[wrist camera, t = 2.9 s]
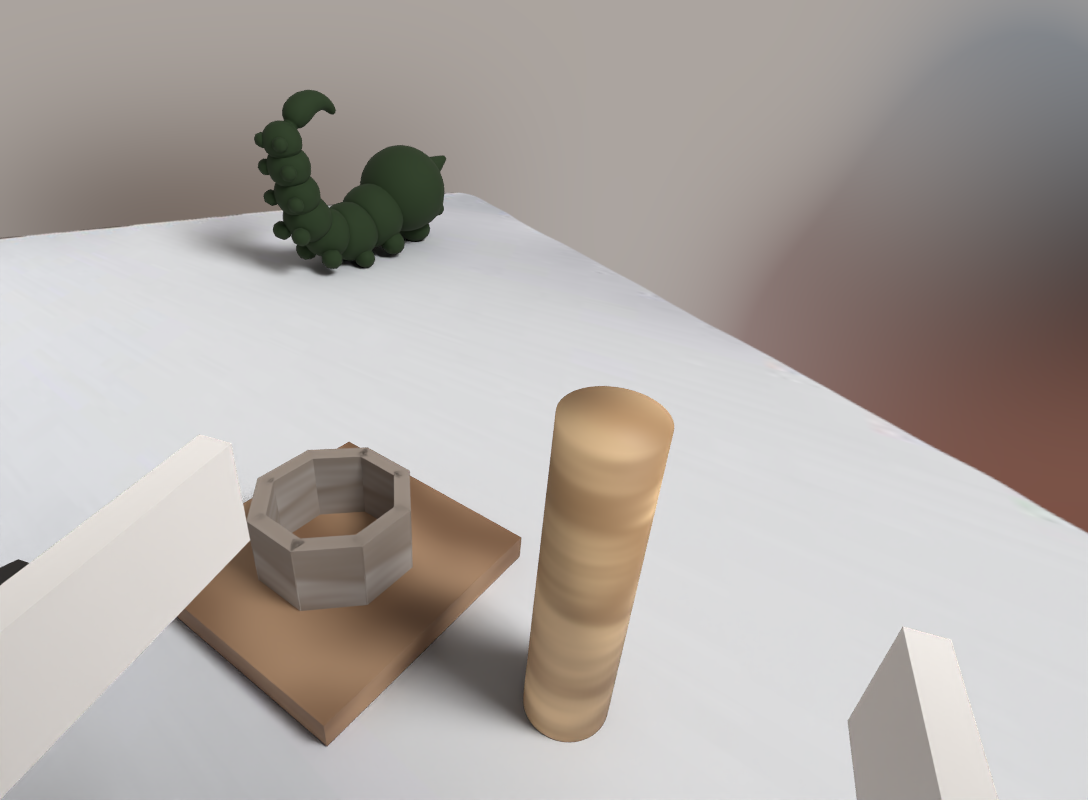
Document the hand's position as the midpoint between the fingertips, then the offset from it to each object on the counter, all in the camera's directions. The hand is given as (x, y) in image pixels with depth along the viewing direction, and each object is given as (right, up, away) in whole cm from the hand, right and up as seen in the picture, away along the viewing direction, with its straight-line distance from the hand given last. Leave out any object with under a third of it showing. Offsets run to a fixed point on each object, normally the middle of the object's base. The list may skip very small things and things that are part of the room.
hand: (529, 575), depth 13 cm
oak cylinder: (+1, -11, +18) cm, 21 cm away
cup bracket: (-11, -6, +23) cm, 26 cm away
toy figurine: (-19, +20, +63) cm, 69 cm away
